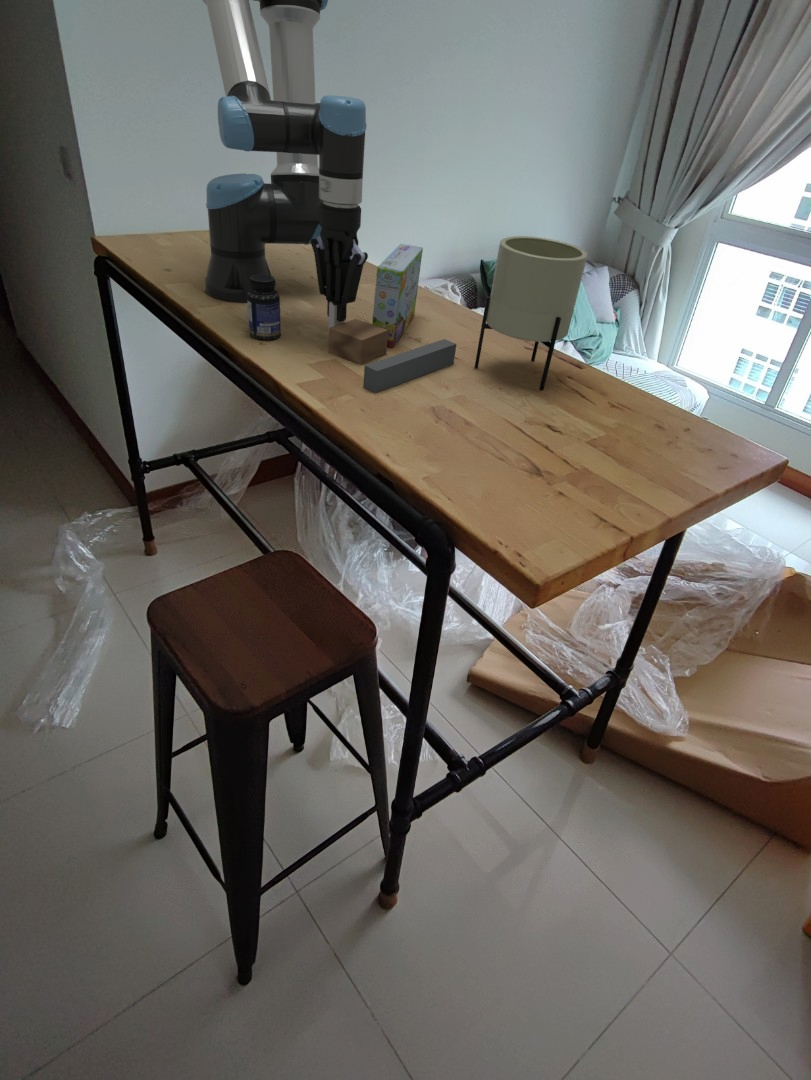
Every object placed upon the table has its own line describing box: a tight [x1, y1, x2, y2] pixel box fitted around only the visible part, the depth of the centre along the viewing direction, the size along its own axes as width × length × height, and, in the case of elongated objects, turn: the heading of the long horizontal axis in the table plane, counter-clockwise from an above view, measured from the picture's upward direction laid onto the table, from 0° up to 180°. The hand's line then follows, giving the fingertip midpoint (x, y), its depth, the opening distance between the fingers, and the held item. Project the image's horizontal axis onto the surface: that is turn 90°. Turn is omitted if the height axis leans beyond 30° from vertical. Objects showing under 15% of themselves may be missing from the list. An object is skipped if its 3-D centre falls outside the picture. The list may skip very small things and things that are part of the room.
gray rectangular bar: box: [362, 338, 457, 393], centre depth 118 cm, size 3×22×4 cm, turn 138°
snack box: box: [371, 243, 424, 348], centre depth 133 cm, size 21×6×15 cm, turn 168°
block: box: [327, 318, 388, 366], centre depth 124 cm, size 8×8×5 cm
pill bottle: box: [247, 275, 282, 341], centre depth 124 cm, size 6×6×11 cm
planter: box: [474, 235, 588, 392], centre depth 118 cm, size 15×16×23 cm
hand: (336, 335), depth 127 cm, fingers closed
